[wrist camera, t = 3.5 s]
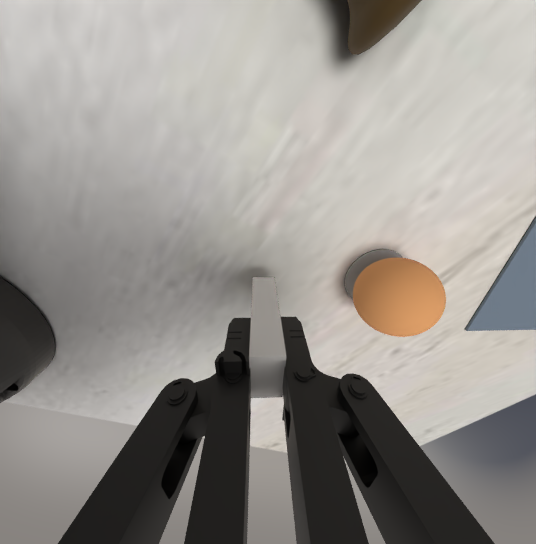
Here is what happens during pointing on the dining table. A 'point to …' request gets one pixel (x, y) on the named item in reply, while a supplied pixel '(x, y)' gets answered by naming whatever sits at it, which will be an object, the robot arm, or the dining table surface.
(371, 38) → the kendama
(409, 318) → the ball
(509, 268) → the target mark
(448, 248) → the dining table surface
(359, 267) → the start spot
